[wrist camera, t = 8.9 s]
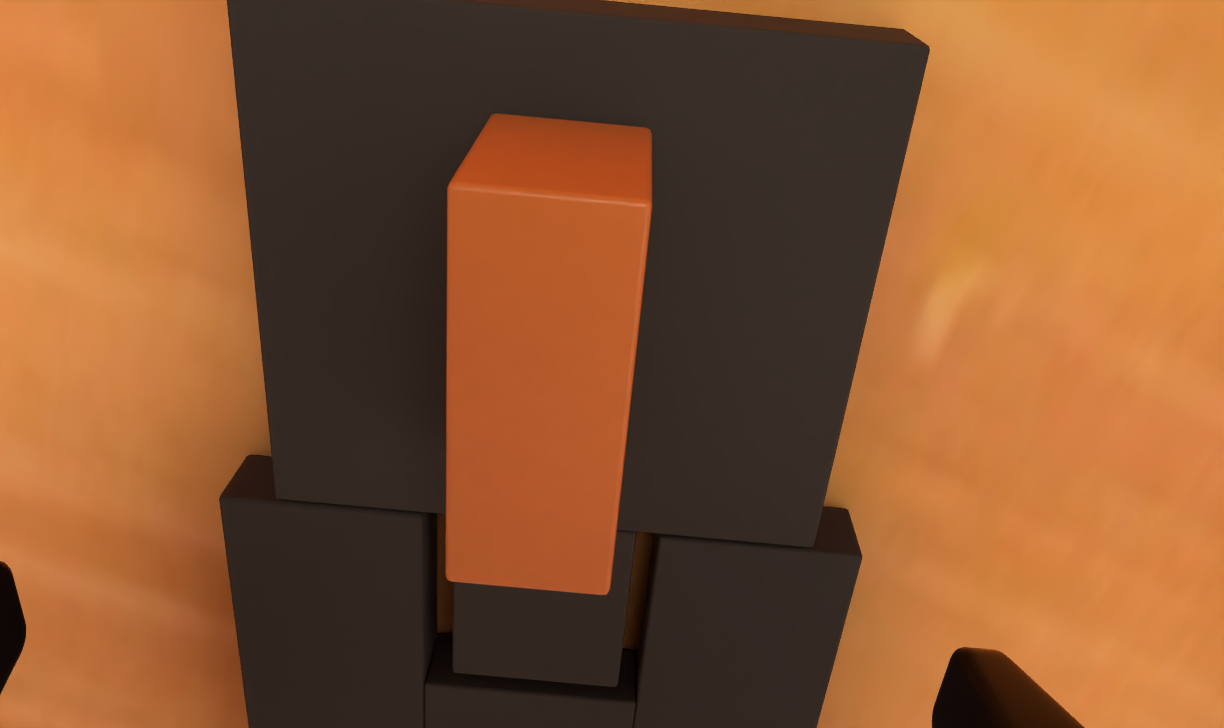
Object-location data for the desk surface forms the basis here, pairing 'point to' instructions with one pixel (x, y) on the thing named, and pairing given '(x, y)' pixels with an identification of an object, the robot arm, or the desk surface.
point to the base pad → (512, 707)
